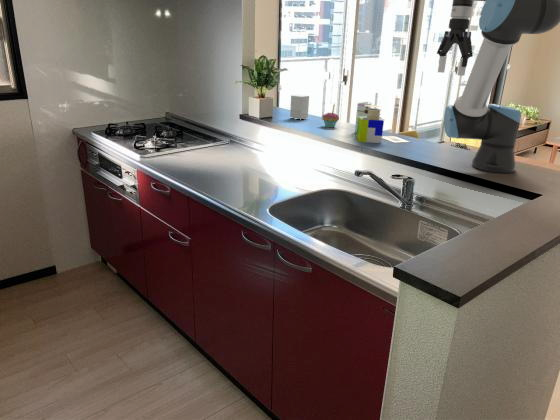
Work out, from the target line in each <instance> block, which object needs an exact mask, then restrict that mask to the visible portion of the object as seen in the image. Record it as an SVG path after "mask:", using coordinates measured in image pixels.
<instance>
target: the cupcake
mask: <svg viewBox="0 0 560 420" xmlns="http://www.w3.org/2000/svg"><path fill="white" fill-rule="evenodd" d="M335 103H336V102H334V104H333V107H332V112H327V113H325V114H323V115H322V116H321V117H322V119H321V120H323V122H324V127H325V128H329V127H334V128H335V126H336V124H337V123H338V121H340V120H339V119H340V116H339V115H338V114H336V113H334V111H335V106H336V104H335Z"/></svg>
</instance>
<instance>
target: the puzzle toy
mask: <svg viewBox="0 0 560 420" xmlns="http://www.w3.org/2000/svg"><path fill="white" fill-rule="evenodd" d="M359 117H367V116H359ZM359 117H358V126H357V133H356V136H355V137H356V139H357V141H358V143H359V142H360V143H374V144H381V143H382V140H383V138H382V136H383V130H384V122H385V120H364V119H361V118H359ZM379 118H381V119H383V118H382V117H381V116H379Z"/></svg>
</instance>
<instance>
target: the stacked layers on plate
mask: <svg viewBox="0 0 560 420" xmlns="http://www.w3.org/2000/svg"><path fill="white" fill-rule="evenodd" d="M364 106H368V107H371V108H368V107H366V108H363V109H364V113H363V114H367V117H359V116H357V117H359V118H361V119H364V120H383V121H385V119H383V118H382V117H381V109H380V108H381V106H380V105H375V104H371V105H364ZM379 117H381V118H382V119H381V118H379Z"/></svg>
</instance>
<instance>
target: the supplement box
mask: <svg viewBox="0 0 560 420" xmlns="http://www.w3.org/2000/svg"><path fill="white" fill-rule="evenodd" d="M309 105H310V95H306V94H305V95H304V94H292V95H290V110H289V113H290V114H289V118H290V117H293V118H297V119H300V120H299V121H302V120H301V119H306V118H308V119H309V107H310V106H309ZM306 120H307V119H306Z"/></svg>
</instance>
